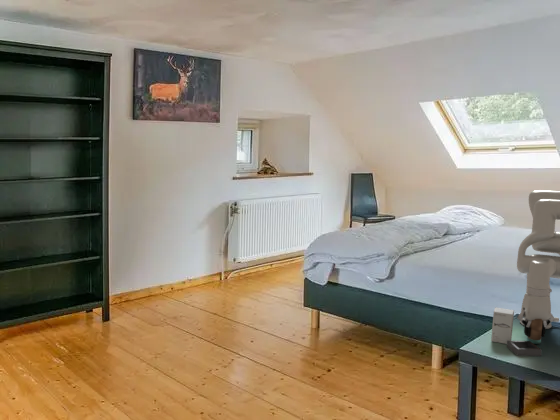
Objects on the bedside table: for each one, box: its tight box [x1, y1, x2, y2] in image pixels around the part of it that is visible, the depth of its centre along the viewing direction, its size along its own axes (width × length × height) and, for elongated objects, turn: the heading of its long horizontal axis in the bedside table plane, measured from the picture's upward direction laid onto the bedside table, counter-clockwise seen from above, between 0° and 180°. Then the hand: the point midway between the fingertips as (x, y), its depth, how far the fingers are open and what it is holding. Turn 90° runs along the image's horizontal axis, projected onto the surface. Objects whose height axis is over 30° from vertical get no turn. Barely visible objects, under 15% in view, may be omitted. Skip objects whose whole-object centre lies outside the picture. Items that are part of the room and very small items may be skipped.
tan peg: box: [526, 319, 543, 345], centre depth 212 cm, size 5×5×10 cm
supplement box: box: [490, 306, 515, 345], centre depth 215 cm, size 7×7×13 cm
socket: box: [506, 340, 542, 357], centre depth 204 cm, size 9×9×2 cm
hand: (534, 335), depth 212 cm, fingers closed on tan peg, 5 cm apart
